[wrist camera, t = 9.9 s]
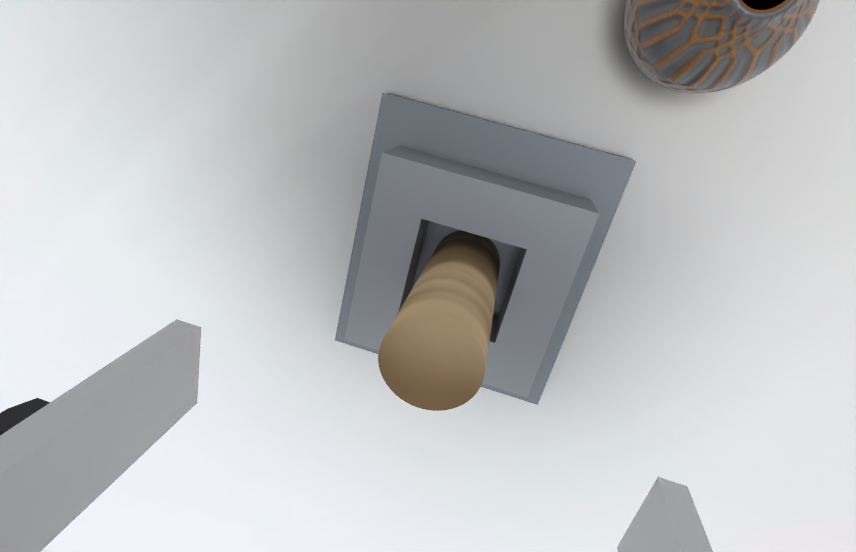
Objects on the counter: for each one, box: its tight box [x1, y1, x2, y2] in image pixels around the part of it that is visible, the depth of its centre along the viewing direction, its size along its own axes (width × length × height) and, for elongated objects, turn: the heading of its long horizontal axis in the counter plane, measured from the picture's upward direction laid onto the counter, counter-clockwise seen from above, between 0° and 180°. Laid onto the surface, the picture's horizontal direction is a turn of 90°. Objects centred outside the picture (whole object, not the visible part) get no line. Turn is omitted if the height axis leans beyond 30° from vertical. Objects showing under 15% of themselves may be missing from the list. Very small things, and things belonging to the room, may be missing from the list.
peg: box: [378, 230, 500, 411], centre depth 23 cm, size 4×4×12 cm
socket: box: [335, 93, 636, 405], centre depth 28 cm, size 16×14×5 cm
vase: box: [624, 0, 819, 93], centre depth 20 cm, size 7×7×9 cm
